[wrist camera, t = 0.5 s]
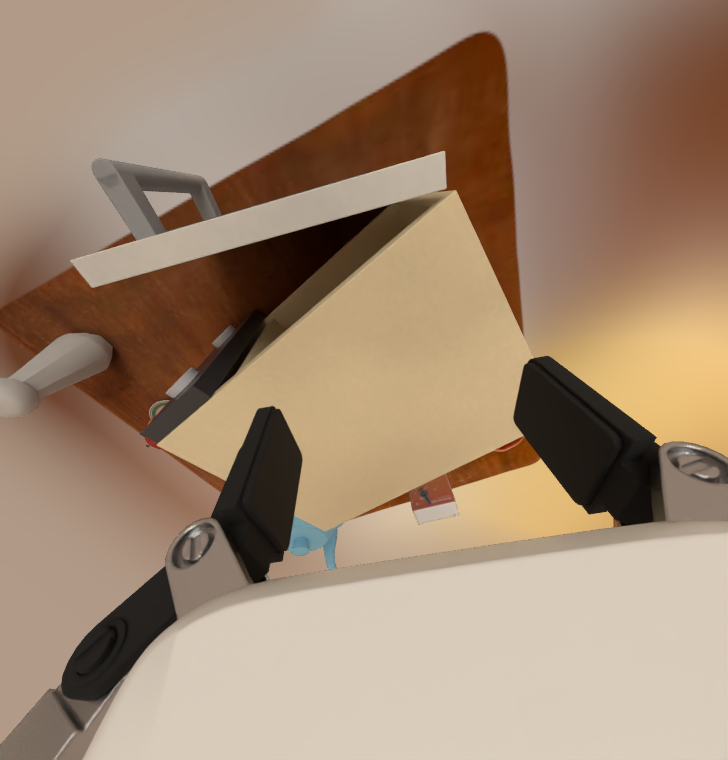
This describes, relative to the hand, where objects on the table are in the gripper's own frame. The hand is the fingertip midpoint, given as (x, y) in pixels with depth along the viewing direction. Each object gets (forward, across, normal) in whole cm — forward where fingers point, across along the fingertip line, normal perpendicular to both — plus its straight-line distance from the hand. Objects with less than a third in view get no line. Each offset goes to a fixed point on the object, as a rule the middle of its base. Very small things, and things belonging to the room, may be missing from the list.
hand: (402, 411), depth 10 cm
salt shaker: (+28, +38, +3) cm, 47 cm away
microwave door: (+27, +6, -9) cm, 29 cm away
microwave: (+27, +3, +9) cm, 29 cm away
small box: (+28, -6, +42) cm, 50 cm away
